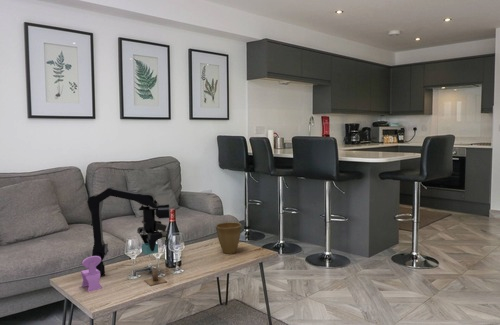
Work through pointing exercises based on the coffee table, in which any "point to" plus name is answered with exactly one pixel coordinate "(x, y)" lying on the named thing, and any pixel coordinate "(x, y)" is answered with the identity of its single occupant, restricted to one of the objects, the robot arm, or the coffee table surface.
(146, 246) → the teal socket block
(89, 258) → the toy chair
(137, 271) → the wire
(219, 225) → the plant pot
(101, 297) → the coffee table surface
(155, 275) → the peg
